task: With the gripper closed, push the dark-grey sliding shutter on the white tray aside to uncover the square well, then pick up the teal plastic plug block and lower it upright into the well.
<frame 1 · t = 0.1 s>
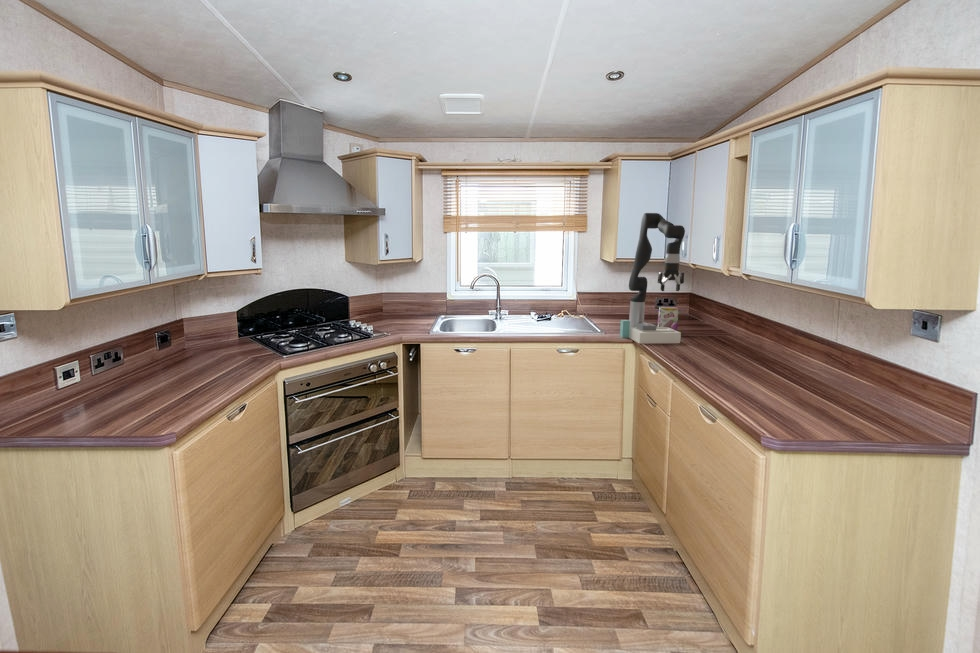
hand: (669, 291, 290), 29 cm above the counter, fingers open, 8 cm apart
shutter: (646, 326, 298), point 8 cm above the counter, slide at 0.0 cm
white tray: (653, 340, 300), on the counter
candy bar box: (666, 333, 321), on the counter
plug: (624, 337, 308), on the counter
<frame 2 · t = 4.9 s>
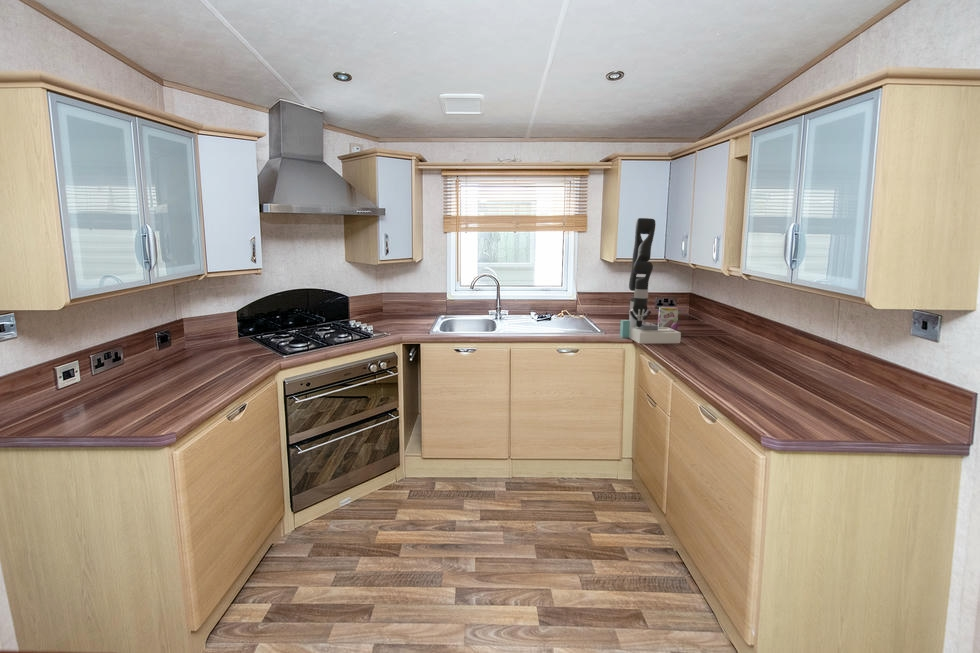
hand: (638, 326, 298), 8 cm above the counter, fingers closed
shutter: (648, 326, 298), point 8 cm above the counter, slide at 1.1 cm, touching gripper
everything else where it was.
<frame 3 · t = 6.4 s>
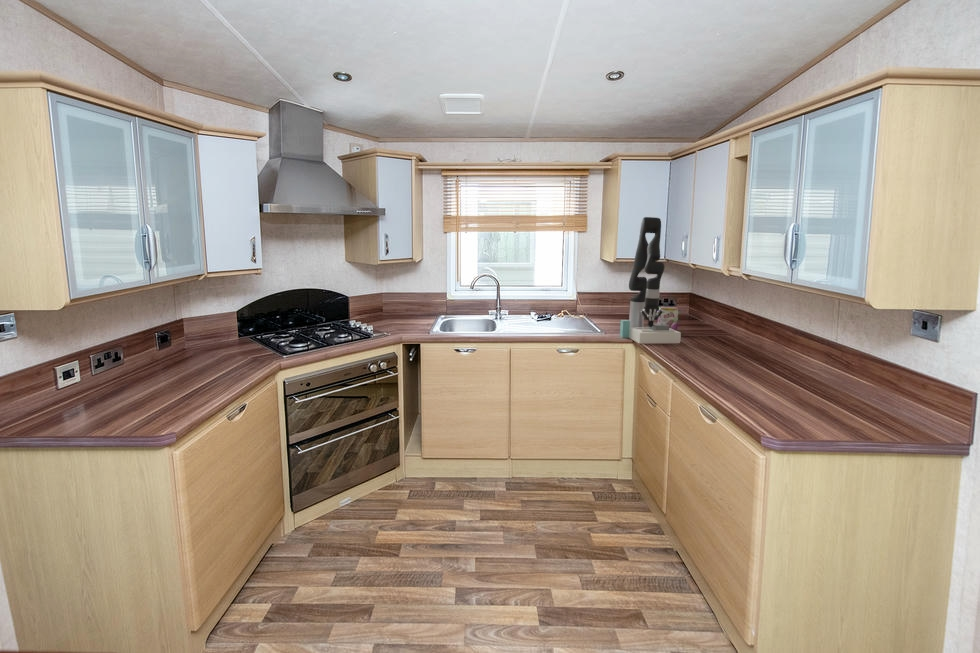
hand: (650, 326, 298), 8 cm above the counter, fingers closed
shutter: (659, 326, 299), point 8 cm above the counter, slide at 7.8 cm, touching gripper
everything else where it was.
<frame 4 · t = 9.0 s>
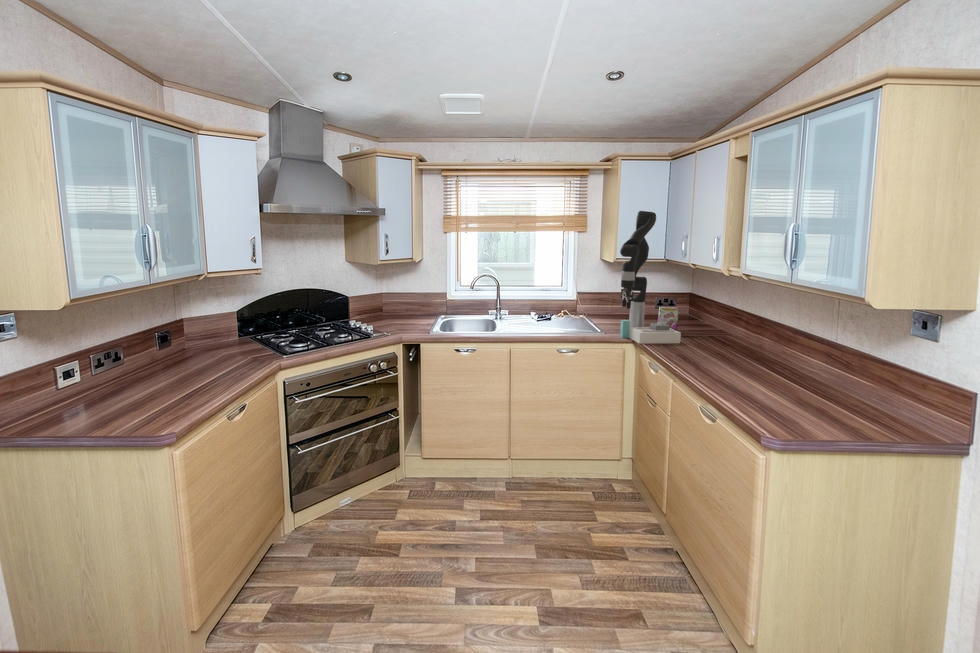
hand: (626, 307, 305), 18 cm above the counter, fingers open, 6 cm apart
shutter: (659, 326, 299), point 8 cm above the counter, slide at 8.0 cm
everything else where it was.
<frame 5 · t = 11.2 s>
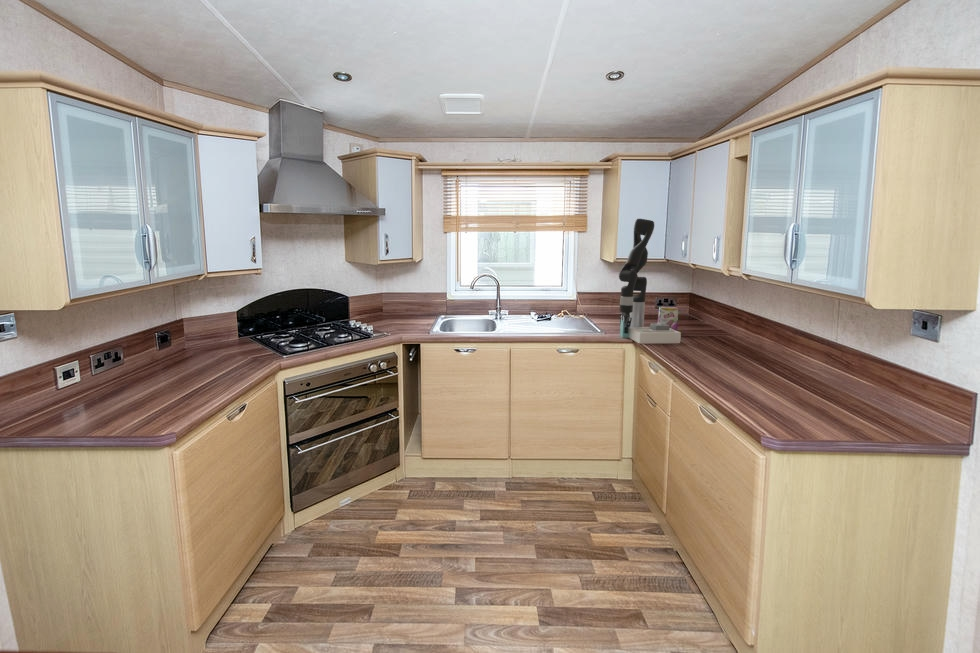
hand: (624, 332, 308), 3 cm above the counter, fingers closed on plug, 4 cm apart
plug: (624, 337, 308), on the counter, touching gripper, white tray
everything else where it was.
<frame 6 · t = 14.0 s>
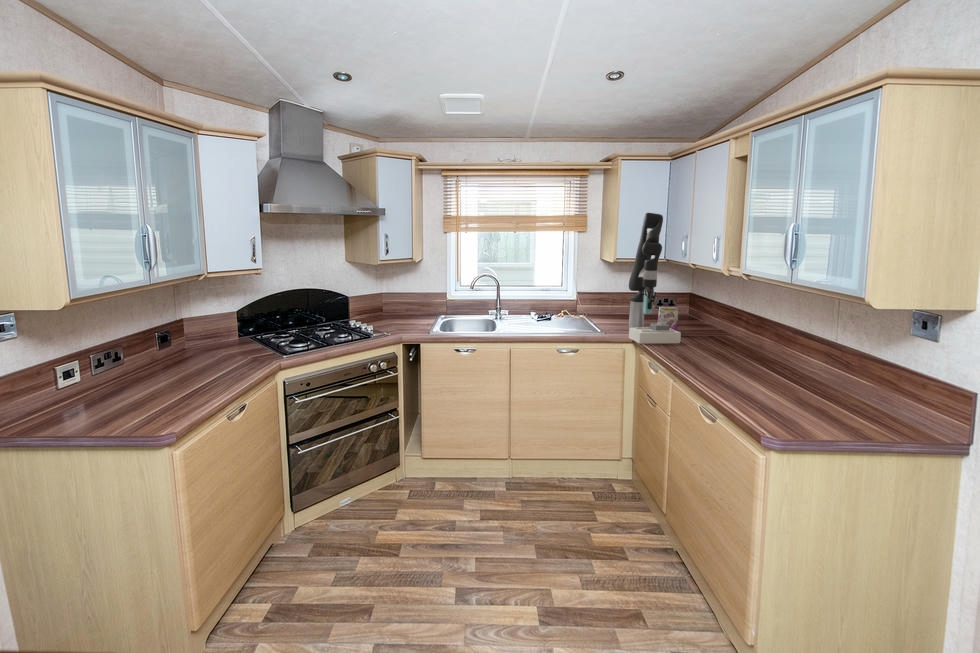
hand: (647, 308, 296), 19 cm above the counter, fingers closed on plug, 4 cm apart
plug: (647, 313, 296), point 16 cm above the counter, touching gripper
everything else where it was.
when the fingers open (7 cm above the counter, at t = 16.9 s): plug drops 1 cm, resting on white tray.
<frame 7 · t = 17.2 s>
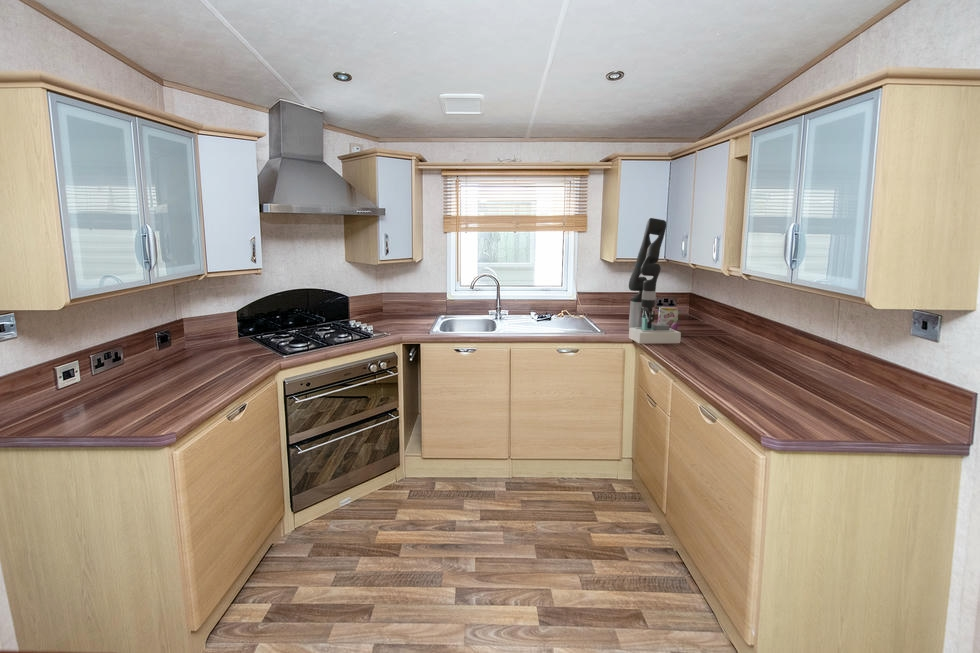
hand: (646, 327, 298), 8 cm above the counter, fingers open, 7 cm apart
plug: (645, 335, 299), point 3 cm above the counter, touching white tray
everything else where it was.
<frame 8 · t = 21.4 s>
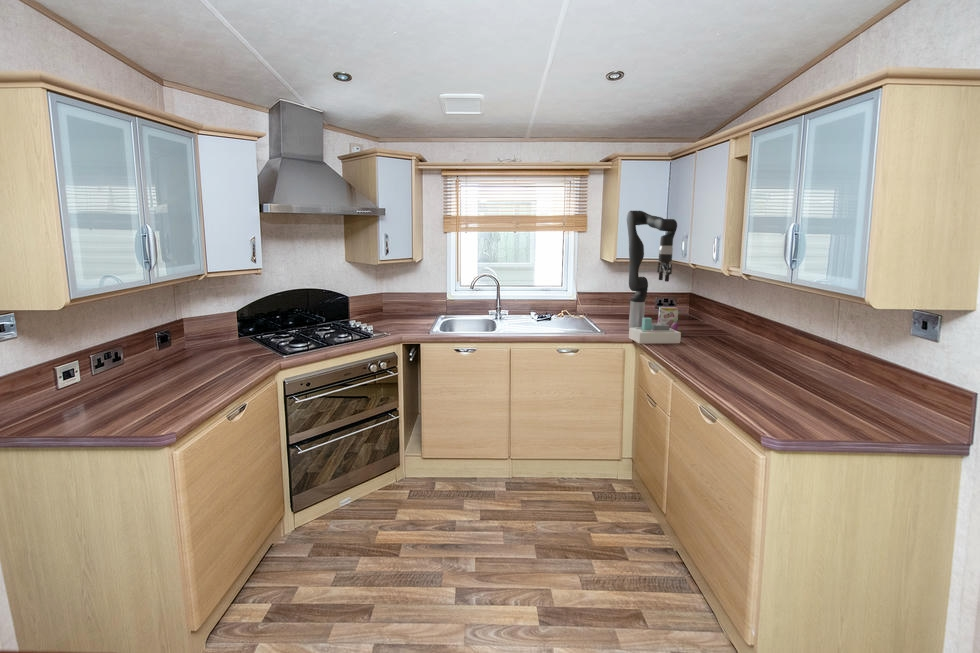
hand: (663, 280, 310), 33 cm above the counter, fingers open, 8 cm apart
nothing on the counter moved.
at the end: plug 0.1 cm from the target spot on the white tray, point 3.0 cm above the white tray's base; plug tilted 0°; shutter slide at 8.0 cm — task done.
